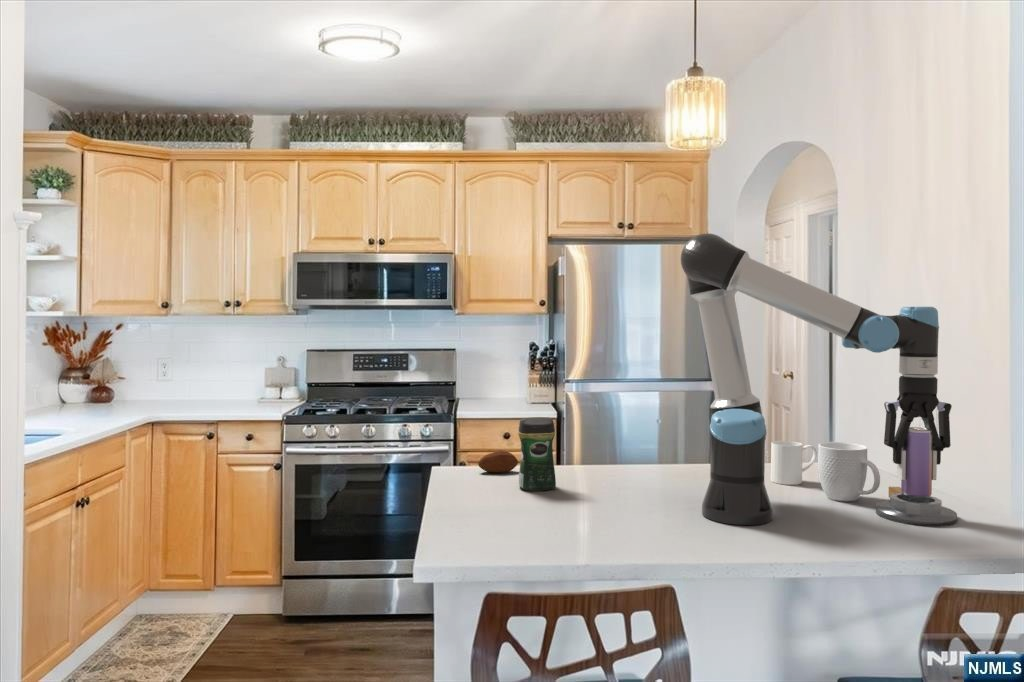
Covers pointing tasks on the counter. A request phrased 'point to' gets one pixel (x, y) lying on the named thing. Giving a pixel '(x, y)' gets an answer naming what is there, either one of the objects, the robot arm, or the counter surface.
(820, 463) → the mug
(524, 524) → the counter surface
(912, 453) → the beverage can
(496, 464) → the potato
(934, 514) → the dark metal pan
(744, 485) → the robot arm
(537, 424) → the coffee jar
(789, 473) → the mug
